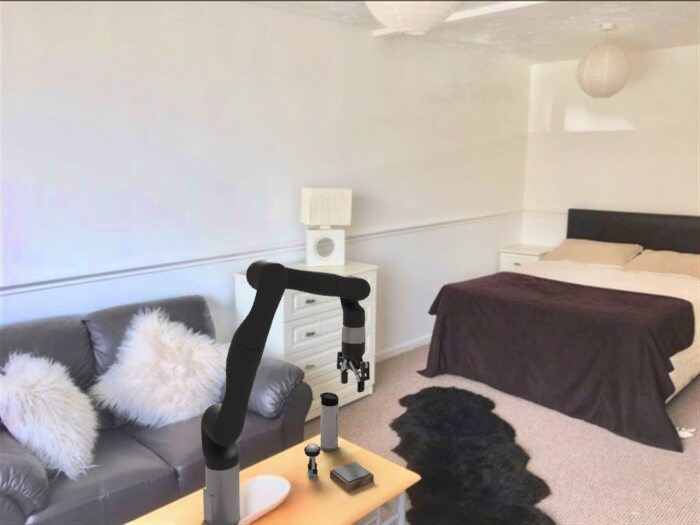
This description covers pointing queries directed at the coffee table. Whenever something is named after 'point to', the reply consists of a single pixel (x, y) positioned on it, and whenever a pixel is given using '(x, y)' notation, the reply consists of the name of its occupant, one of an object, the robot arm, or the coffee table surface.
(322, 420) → the travel mug
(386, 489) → the coffee table surface
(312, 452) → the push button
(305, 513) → the coffee table surface
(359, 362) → the robot arm
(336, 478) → the tray
